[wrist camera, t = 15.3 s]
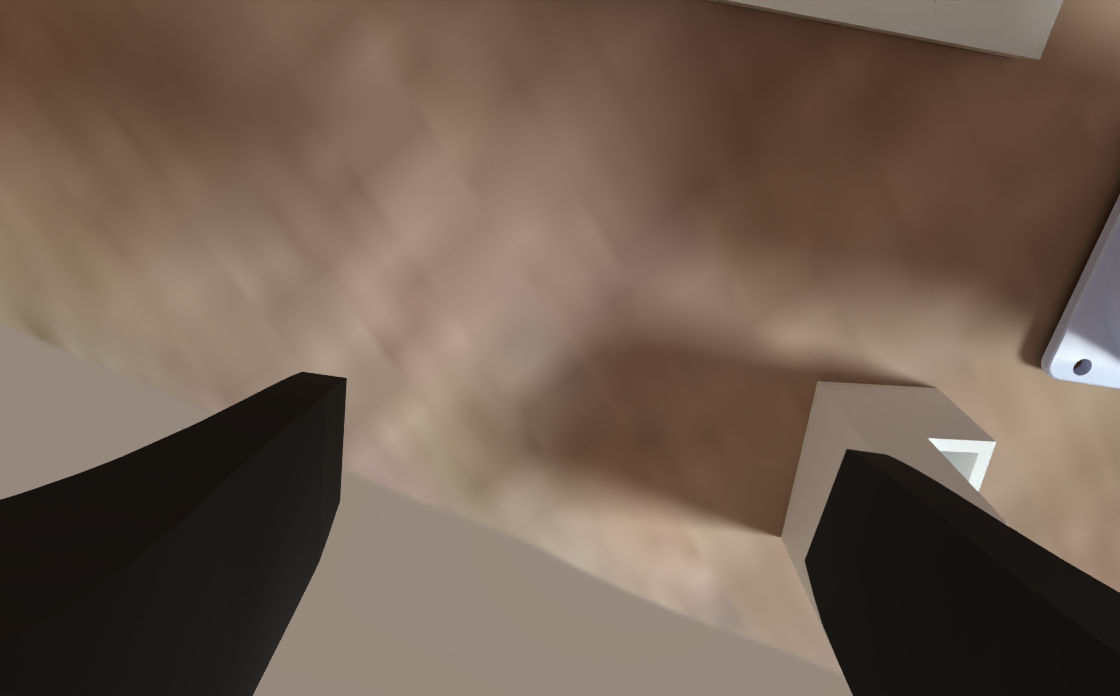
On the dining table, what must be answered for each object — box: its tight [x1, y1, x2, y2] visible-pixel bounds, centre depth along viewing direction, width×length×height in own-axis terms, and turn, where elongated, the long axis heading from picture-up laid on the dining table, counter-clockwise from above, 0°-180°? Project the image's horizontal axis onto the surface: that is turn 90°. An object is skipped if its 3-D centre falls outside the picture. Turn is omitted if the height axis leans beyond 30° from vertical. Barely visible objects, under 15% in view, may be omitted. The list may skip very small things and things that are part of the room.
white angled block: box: [781, 381, 1009, 654], centre depth 19 cm, size 4×10×9 cm, turn 176°
